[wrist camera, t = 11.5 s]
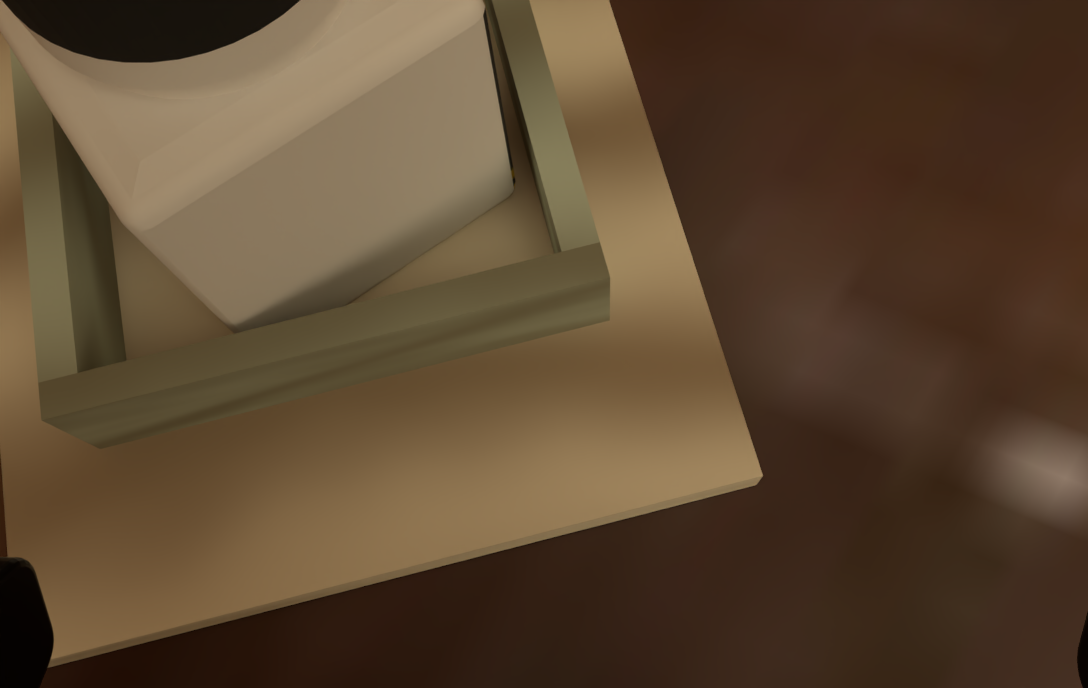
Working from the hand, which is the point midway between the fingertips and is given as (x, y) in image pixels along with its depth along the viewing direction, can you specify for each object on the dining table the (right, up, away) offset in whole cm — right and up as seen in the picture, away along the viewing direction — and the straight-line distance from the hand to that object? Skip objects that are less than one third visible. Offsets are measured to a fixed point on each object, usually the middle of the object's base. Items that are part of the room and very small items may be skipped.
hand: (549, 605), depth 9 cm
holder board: (-6, +6, +17) cm, 19 cm away
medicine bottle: (-6, +6, +16) cm, 18 cm away
